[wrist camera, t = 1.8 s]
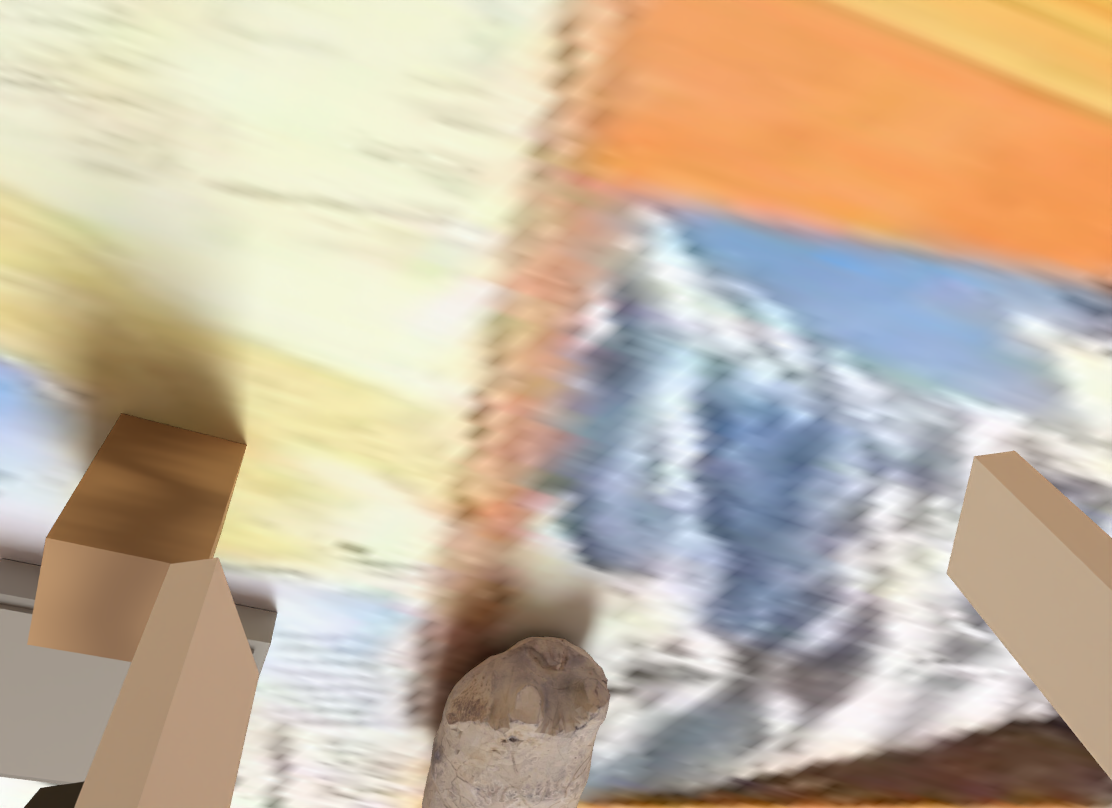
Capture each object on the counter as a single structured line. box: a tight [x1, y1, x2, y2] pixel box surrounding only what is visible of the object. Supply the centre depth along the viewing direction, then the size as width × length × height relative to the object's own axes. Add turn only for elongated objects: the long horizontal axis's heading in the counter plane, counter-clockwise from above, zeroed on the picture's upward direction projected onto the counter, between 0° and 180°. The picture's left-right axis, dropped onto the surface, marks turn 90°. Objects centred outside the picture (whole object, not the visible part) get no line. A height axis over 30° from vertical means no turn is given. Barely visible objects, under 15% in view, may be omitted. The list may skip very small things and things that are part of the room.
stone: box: [422, 637, 610, 808], centre depth 43 cm, size 8×12×7 cm, turn 168°
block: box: [27, 413, 247, 662], centre depth 32 cm, size 5×5×8 cm
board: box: [0, 559, 277, 784], centre depth 40 cm, size 12×12×2 cm
